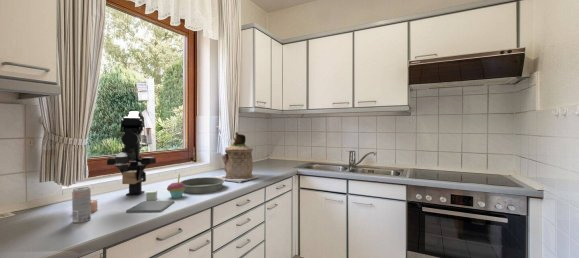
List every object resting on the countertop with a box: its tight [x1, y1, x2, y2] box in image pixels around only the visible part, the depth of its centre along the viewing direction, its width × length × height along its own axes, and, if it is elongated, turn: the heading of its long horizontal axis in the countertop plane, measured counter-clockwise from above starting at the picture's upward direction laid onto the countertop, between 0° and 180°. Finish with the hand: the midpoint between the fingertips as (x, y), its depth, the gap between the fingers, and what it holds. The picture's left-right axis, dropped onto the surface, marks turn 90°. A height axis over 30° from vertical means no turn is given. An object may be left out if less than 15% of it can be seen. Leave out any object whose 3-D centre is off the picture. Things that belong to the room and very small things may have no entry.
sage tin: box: [145, 189, 158, 201], centre depth 126 cm, size 4×4×4 cm
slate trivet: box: [125, 200, 175, 213], centre depth 114 cm, size 14×14×1 cm
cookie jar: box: [213, 131, 263, 184], centre depth 178 cm, size 25×25×32 cm
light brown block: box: [91, 199, 98, 214], centre depth 108 cm, size 7×7×4 cm
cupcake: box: [166, 173, 186, 199], centre depth 131 cm, size 9×8×12 cm
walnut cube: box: [121, 171, 141, 185], centre depth 115 cm, size 5×5×5 cm
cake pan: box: [179, 176, 225, 194], centre depth 148 cm, size 25×25×4 cm
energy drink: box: [71, 186, 92, 224], centre depth 97 cm, size 5×5×12 cm
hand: (131, 180), depth 115 cm, fingers closed on walnut cube, 5 cm apart
